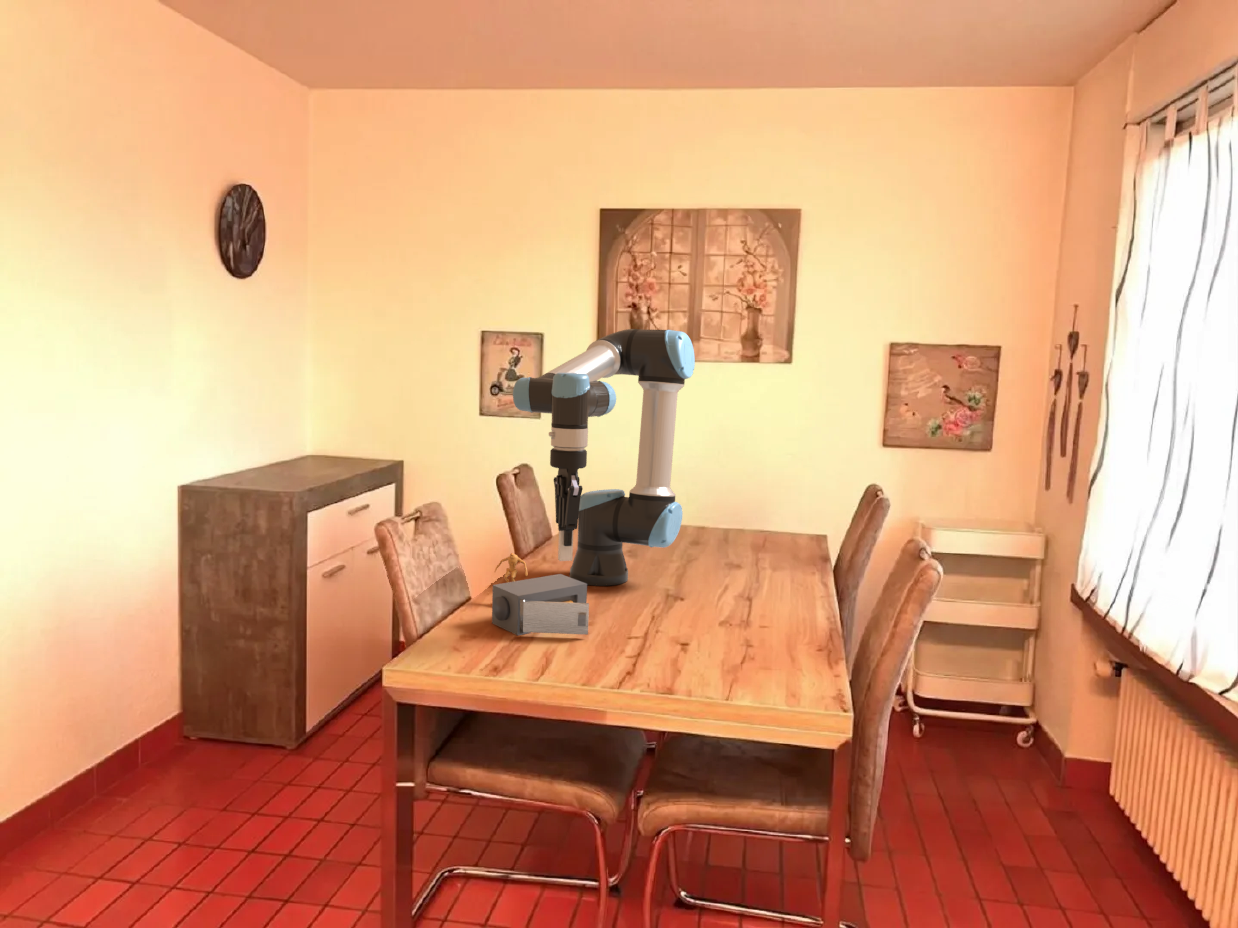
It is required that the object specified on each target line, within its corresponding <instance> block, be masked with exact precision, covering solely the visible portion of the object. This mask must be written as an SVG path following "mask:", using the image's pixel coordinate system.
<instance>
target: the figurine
mask: <svg viewBox="0 0 1238 928" xmlns="http://www.w3.org/2000/svg"><path fill="white" fill-rule="evenodd" d="M503 562H504V563H505V562H507V563H508V566H509V567H507V568H506V571H505V574H504V577H503V578H504V580H505V583H508V582H510V579H508V577H509V576H511V582H514V581H516V580H515V578H516V576H517V573H518V568H516V567H517V565H518V562H519V563H520V564H523V566H524V570H525V572H524V575H525V576H524V577H528V568H527V563H526V562H525V561H524V559H523V560H522V559H521V558H520V557H519V555H518V554H515V553H513V552H511V553H510V555H509V556H507V557H505V558H503V559H501V560H500V561H499V563H498V564H497V565H496V567H495V569H494V572H496V571H497V569H499V567H500V566H501V564H503Z"/></svg>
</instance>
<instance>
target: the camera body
mask: <svg viewBox="0 0 1238 928" xmlns="http://www.w3.org/2000/svg"><path fill="white" fill-rule="evenodd" d="M587 596H588V585H587V584H586V583H584V582H581V581H578V580H575V579H573V578H570V576H567V575H564V574H562V573H557V574H551V575H545V576H541V577H539V576H538V577H532V578H526V579H521V580H515V581H514V582H512V581H509V582H508V583H507V582H503V583H498V584H493V585H492V596H491V597H492V599H491V601H492V602H491V603H492V604H491V605H492V606H491V609H492V610H491V611H492V612H491V624H493V625H495V626H498V627H499V628H501V629H503V630H505V631H507V632H509V633H511V632H512V633H511V634H513V635H516V636H522V635H526V634H531V632H524V633H523V634H520V633H519V622H520V599H525V601H544V602H571V603H587V599H588V597H587Z"/></svg>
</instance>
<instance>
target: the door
mask: <svg viewBox="0 0 1238 928" xmlns="http://www.w3.org/2000/svg"><path fill="white" fill-rule="evenodd" d="M589 608H590V603H589V602H586V603H571V602H544V601H525V599H520V622H519V633H520V634H522V635H524V634H523V633H524V632H532V633H533V634H534V633H535V634H536V633H537V634H538V633H539V634H562V635H563V634H564V635H565V634H566V635H589V617H590V616H589V615H590V614H589V613H590V612H589V610H590V609H589Z"/></svg>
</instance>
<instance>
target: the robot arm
mask: <svg viewBox="0 0 1238 928" xmlns="http://www.w3.org/2000/svg"><path fill="white" fill-rule="evenodd" d="M695 363H696V361H695V350H694V345H693V342H692V340H691V338H690V337H689V335H688V334H687V333H686V332H685V331H680V330H673V329H638V328H628V329H621V330H619V331H616V332H612V333H609V334H607V335H605V336H603V337H601V338H598V339H596V340H595V341H593V342H591V343H590V344H589V345H588V346H587V348H586V349H585V351H583V352H581V353H580V354H578V355H576V356H574V357H573V358H571V359H569V360H567V361H566V362H564V363H561V364H560V365H558V366H556V367H555V368H553V369H551V370H548V372H546V373H543V374H542V375H540V376H538V377H532V376H528V377H521V378H518V379H517V380H516V381H515V384H514V385H513V389H512V401H513V404H514V406H515V408H516V409H517V410H519V411H522V412H527V413H528V412H529V413H531V414H532V413H537V414H551V431H549V432H548V436H549V437H550V445H551V446H552V448H551V449H550V453H549V454H550V456H549V461H550V462H549V465H550V467H553V468H555V469H557V470H558V471H557V475H556V477H555V476H554V477H553V484H554V504H555V505H554V506H555V523H556V524H557V527H558V528H557V530H558V547H557V548H558V549H557V560H558V561H559V562H571V561H572V564H571V567H570V568H569V569H570V570H569V577H570V578H573V579H575V580H578V581H581V582H584V583H586V584H587V586H600V587H601V586H605V587H606V586H607V587H609V586H616V585H622V584H624V583H626V582H627V581H628V580H629V570H628V566H627V563H626V558H625V554H624V551H623V543H624V544H629V545H638V546H639V545H640V546H645V547H646V546H647V547H650V548H664V549H665V548H668V547H669V546H671V545H672V544H673V543H674V542H675V540H676V538H677V536H678V535H679V532H680V530H681V527H682V521H683V506H682V505H681V504H680V503H679V502H677V501H676V493H675V492H674V491H673V490H672V489H671V480H672V467H673V464H672V463H673V455H674V444H675V443H674V442H675V431H676V418H677V405H678V395H679V394H678V393H679V392H680V390H682V389H683V388H684V387H685V382H686V381H685V380H687V379H690V378H691V377H692V375H693V374H694V370H695ZM615 375H628V376H637V377H638V379H637V380H638V381H637V383H638V384H639V386H640V387H641V389H642V390H643V393H642V404H641V405H642V407H641V417H640V431H639V444H638V454H637V455H638V456H637V457H638V458H637V467H636V468H637V469H636V470H637V471H636V483H635V485H634V486H633V487H632V488H631V489H630V490H629V496H626V493H625V491H624V490H623V489H616V488H615V489H612V488H611V489H599V490H598V489H597V490H593V491H591V490H590V491H587V492H584V493H582V492H583V486H582V485H580V479H581V478H580V477H579V472H578V471H579V469H584V468H586V467H587V462H588V461H587V460H588V459H587V457H588V451H587V450H586V448H587V447H588V445H589V444H588V441H589V440H588V439H589V435H588V434H589V426H588V425H589V418H593V417H594V418H595V417H597V418H599V417H602V416H604V415H608V414H609V413H610V412H612V410H613V409H614V408H615V406H616V403H617V394H616V392H615V391H616V390H615V389H614V388H613V386H612V385H611V384H610V383H608V382H605V381H601V380H600V379H603V378H604V379H608V378H611V377H613V376H615ZM575 530H577V548H576V549H577V550H576V552H575V555H574V558H573V551H574V531H575Z"/></svg>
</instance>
